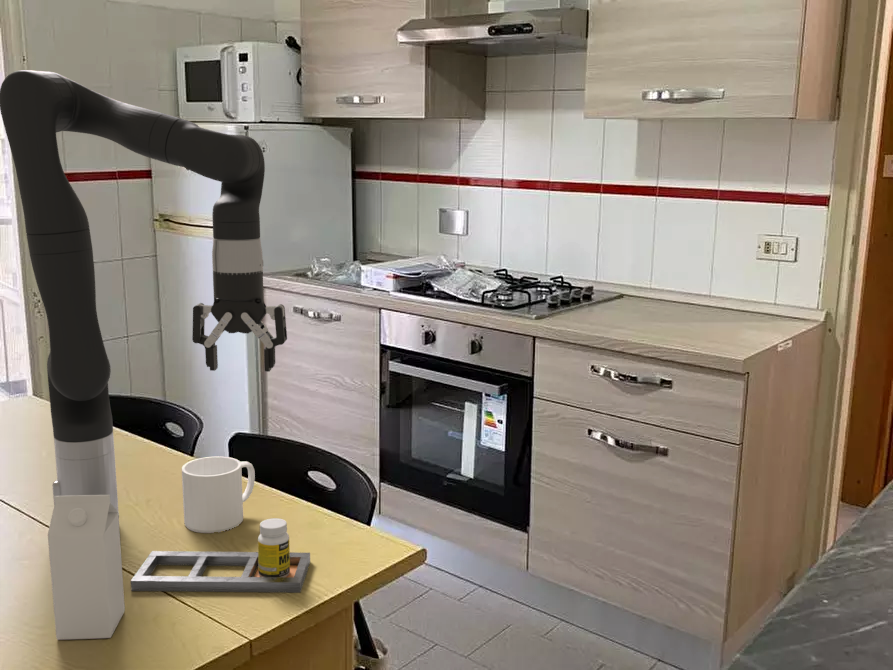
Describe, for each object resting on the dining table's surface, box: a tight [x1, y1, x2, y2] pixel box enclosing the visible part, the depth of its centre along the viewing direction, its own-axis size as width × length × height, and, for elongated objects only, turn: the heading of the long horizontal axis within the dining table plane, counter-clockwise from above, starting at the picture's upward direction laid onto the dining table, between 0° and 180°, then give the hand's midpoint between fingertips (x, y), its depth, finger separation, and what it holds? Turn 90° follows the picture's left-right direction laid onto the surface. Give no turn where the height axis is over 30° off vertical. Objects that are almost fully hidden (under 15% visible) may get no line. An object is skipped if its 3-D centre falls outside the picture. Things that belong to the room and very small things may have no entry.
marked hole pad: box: [253, 566, 298, 577], centre depth 138 cm, size 6×6×1 cm
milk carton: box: [47, 495, 126, 641], centre depth 122 cm, size 7×7×19 cm
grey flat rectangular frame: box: [130, 550, 311, 593], centre depth 138 cm, size 25×10×2 cm, turn 90°
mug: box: [181, 455, 256, 534], centre depth 158 cm, size 13×10×10 cm
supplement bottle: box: [257, 517, 290, 577], centre depth 137 cm, size 5×5×8 cm
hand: (241, 370), depth 142 cm, fingers open, 8 cm apart
